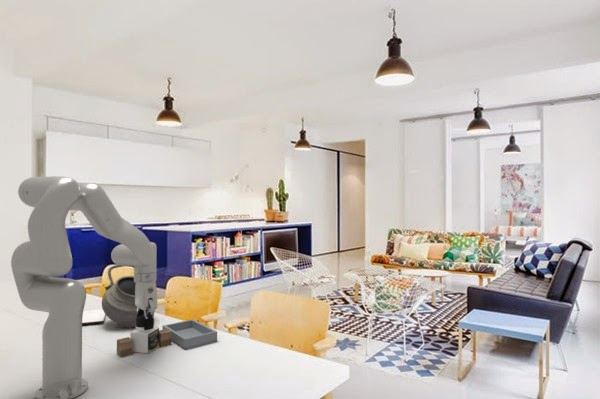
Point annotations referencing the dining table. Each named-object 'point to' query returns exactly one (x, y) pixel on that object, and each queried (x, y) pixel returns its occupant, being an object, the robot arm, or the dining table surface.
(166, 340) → the right walnut block
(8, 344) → the dining table surface
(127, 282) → the pot
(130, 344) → the left walnut block
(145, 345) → the medicine bottle
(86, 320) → the plate
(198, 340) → the tray
